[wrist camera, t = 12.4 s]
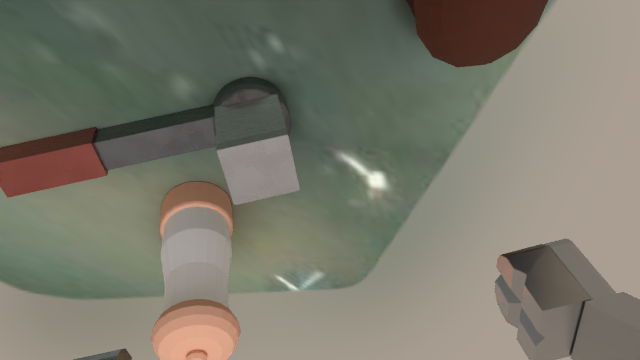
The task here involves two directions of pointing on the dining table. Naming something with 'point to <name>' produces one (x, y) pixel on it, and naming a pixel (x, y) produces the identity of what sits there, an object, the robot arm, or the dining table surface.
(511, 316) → the robot arm
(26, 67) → the dining table surface
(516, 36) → the muffin
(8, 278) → the dining table surface
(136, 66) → the dining table surface
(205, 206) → the pepper shaker
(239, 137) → the light grey cube
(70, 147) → the ratchet
